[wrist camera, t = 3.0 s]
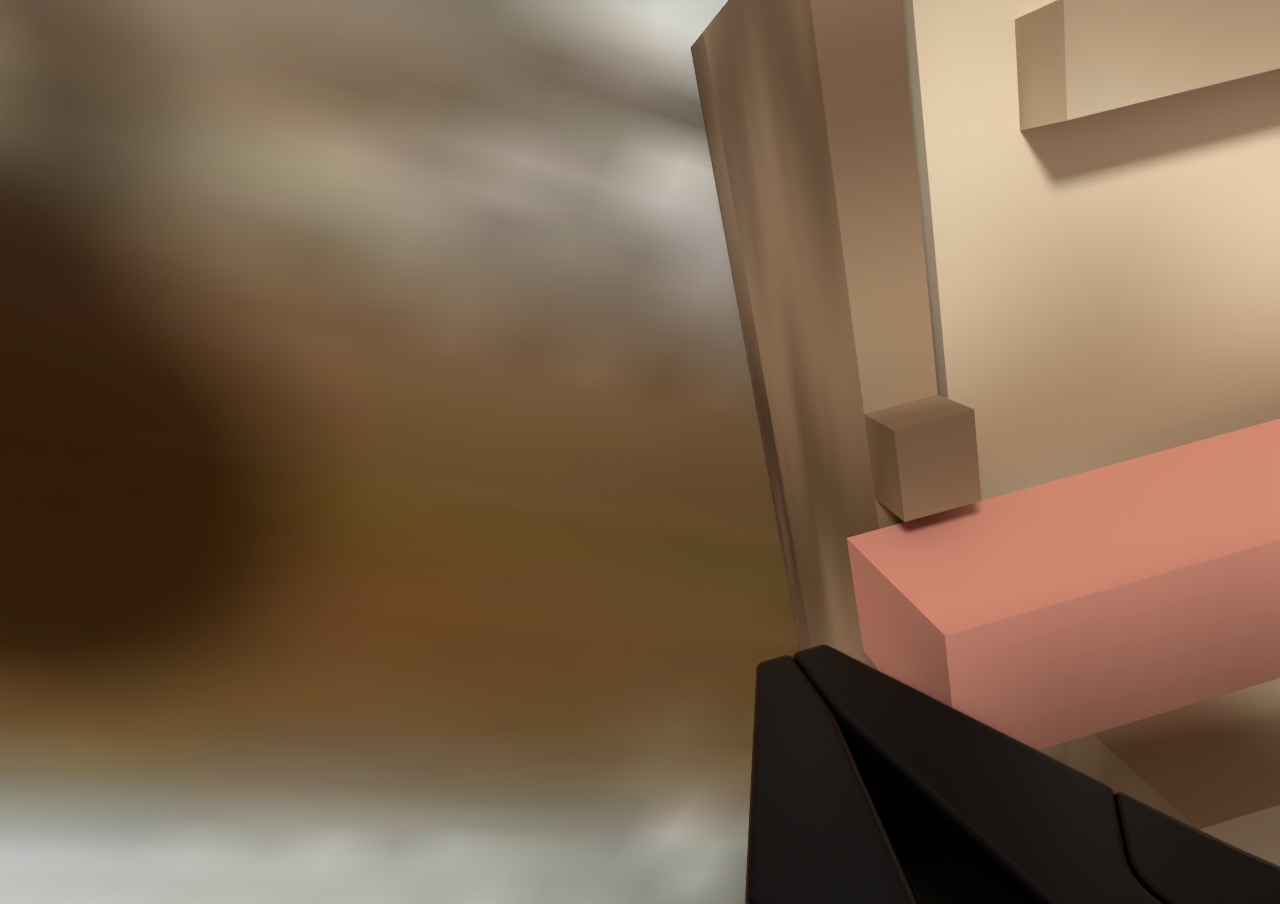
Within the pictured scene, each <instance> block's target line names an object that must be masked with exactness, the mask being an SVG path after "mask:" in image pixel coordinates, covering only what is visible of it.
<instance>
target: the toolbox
mask: <svg viewBox="0 0 1280 904" xmlns="http://www.w3.org/2000/svg"><path fill="white" fill-rule="evenodd" d="M691 52H692V57H693V63H694V68H695V74H696V79H697V85H698V90H699V96H700V101H701V107H702V112H703V117H704V123H705V128H706V134H707V139H708V145H709V150H710V156H711V161H712V167H713V172H714V178H715V183H716V189H717V194H718V200H719V205H720V211H721V216H722V222H723V227H724V233H725V238H726V244H727V249H728V255H729V260H730V266H731V271H732V277H733V282H734V288H735V293H736V298H737V304H738V309H739V315H740V320H741V326H742V331H743V337H744V342H745V348H746V353H747V359H748V364H749V370H750V375H751V381H752V386H753V392H754V397H755V403H756V408H757V414H758V419H759V425H760V430H761V436H762V441H763V447H764V452H765V458H766V463H767V469H768V474H769V479H770V485H771V490H772V496H773V501H774V507H775V512H776V518H777V523H778V529H779V534H780V540H781V545H782V551H783V556H784V562H785V567H786V573H787V578H788V584H789V589H790V595H791V600H792V606H793V611H794V617H795V622H796V628H797V633H798V639H799V644H800V650H801V651H802V650H805V649H808V648H812V647H815V646H819V645H828V646H831V647H833V648H835V649H837V650H839V651H841V652H843V653H845V654H847V655H849V656H851V657H853V658H855V659H857V660H859V661H861V662H863V663H865V664H867V665H869V666H871V667H873V668H875V669H877V667H876V666H875V665H874V663H873V662H872V661H871V660H870V658H869V657H868V656H867V654H866V653H865V652H864V650H863V645H862V638H861V631H860V625H859V618H858V611H857V604H856V598H855V591H854V584H853V577H852V571H851V564H850V557H849V550H848V544H847V538H849V537H852V536H856V535H859V534H863V533H867V532H870V531H874V530H878V529H881V528H885V527H888V526H892V525H896V524H899V523H903V522H907V521H910V520H914V519H917V518H921V517H925V516H928V515H932V514H936V513H939V512H943V511H946V510H950V509H954V508H957V507H961V506H964V505H968V504H972V503H975V502H979V501H981V491H980V478H979V465H978V452H977V439H976V426H975V413H974V409H972V408H970V407H967V406H965V405H962V404H960V403H957V402H955V401H952V400H950V399H948V398H945V397H943V396H940V395H938V391H937V380H936V370H935V359H934V349H933V338H932V327H931V317H930V306H929V296H928V285H927V274H926V264H925V253H924V242H923V232H922V221H921V211H920V200H919V189H918V179H917V168H916V158H915V147H914V136H913V126H912V115H911V105H910V94H909V83H908V73H907V62H906V51H905V41H904V30H903V20H902V9H901V0H728V2H727V3H726V4H725V5H724V7H723V8H722V9H721V10H720V12H719V13H718V14H717V15H716V17H715V18H714V19H713V20H712V22H711V23H710V24H709V25H708V27H707V28H706V29H705V30H704V32H703V33H702V34H701V35H700V37H699V38H698V39H697V40H696V42H695V43H694V44H693V45H692V47H691ZM877 670H878V669H877Z"/></svg>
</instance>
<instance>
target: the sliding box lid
mask: <svg viewBox="0 0 1280 904" xmlns="http://www.w3.org/2000/svg"><path fill="white" fill-rule="evenodd" d="M901 9H902V20H903V30H904V41H905V51H906V62H907V73H908V83H909V94H910V105H911V115H912V126H913V136H914V147H915V158H916V168H917V179H918V189H919V200H920V211H921V221H922V232H923V242H924V253H925V264H926V274H927V285H928V296H929V306H930V317H931V327H932V338H933V349H934V359H935V370H936V380H937V391H938V395H940V396H943V397H945V398H948V399H950V400H952V401H955V402H957V403H960V404H962V405H965V406H967V407H970V408H972V409H974V413H975V426H976V439H977V452H978V465H979V478H980V491H981V501H983V500H986V499H990V498H994V497H997V496H1001V495H1004V494H1008V493H1012V492H1015V491H1019V490H1023V489H1026V488H1030V487H1033V486H1037V485H1041V484H1044V483H1048V482H1052V481H1055V480H1059V479H1062V478H1066V477H1070V476H1073V475H1077V474H1081V473H1084V472H1088V471H1091V470H1095V469H1099V468H1102V467H1106V466H1110V465H1113V464H1117V463H1120V462H1124V461H1128V460H1131V459H1135V458H1139V457H1142V456H1146V455H1149V454H1153V453H1157V452H1160V451H1164V450H1168V449H1171V448H1175V447H1178V446H1182V445H1186V444H1189V443H1193V442H1197V441H1200V440H1204V439H1207V438H1211V437H1215V436H1218V435H1222V434H1226V433H1229V432H1233V431H1236V430H1240V429H1244V428H1247V427H1251V426H1255V425H1258V424H1262V423H1265V422H1269V421H1273V420H1276V419H1280V0H901ZM964 506H965V505H964ZM1039 751H1041V752H1043V753H1045V754H1047V755H1049V756H1051V757H1053V758H1055V759H1057V760H1059V761H1061V762H1063V763H1065V764H1067V765H1069V766H1071V767H1073V768H1075V769H1077V770H1079V771H1081V772H1083V773H1085V774H1087V775H1089V776H1091V777H1093V778H1095V779H1097V780H1099V781H1101V782H1103V783H1105V784H1107V785H1109V786H1110V787H1111V788H1112V789H1113V791H1114V795H1115V794H1116V793H1117V792H1123V793H1125V794H1127V795H1129V796H1131V797H1133V798H1135V799H1137V800H1139V801H1141V802H1144V803H1146V804H1148V805H1150V806H1152V807H1154V808H1156V809H1158V810H1160V811H1162V812H1164V813H1166V814H1168V815H1170V816H1172V817H1174V818H1176V819H1178V820H1180V821H1182V822H1184V823H1187V824H1189V825H1191V826H1193V827H1195V828H1197V829H1199V830H1201V831H1203V832H1205V833H1208V834H1210V835H1212V836H1214V837H1216V838H1218V839H1220V840H1222V841H1224V842H1227V843H1229V844H1231V845H1233V846H1235V847H1237V848H1239V849H1242V850H1244V851H1246V852H1248V853H1251V854H1253V855H1255V856H1258V857H1260V858H1262V859H1265V860H1267V861H1269V862H1271V863H1274V864H1276V865H1278V866H1280V678H1278V679H1275V680H1272V681H1268V682H1265V683H1262V684H1258V685H1255V686H1252V687H1248V688H1245V689H1242V690H1238V691H1235V692H1232V693H1228V694H1225V695H1222V696H1218V697H1215V698H1211V699H1208V700H1205V701H1201V702H1198V703H1195V704H1191V705H1188V706H1185V707H1181V708H1178V709H1175V710H1171V711H1168V712H1165V713H1161V714H1158V715H1155V716H1151V717H1148V718H1145V719H1141V720H1138V721H1134V722H1131V723H1128V724H1124V725H1121V726H1118V727H1114V728H1111V729H1108V730H1104V731H1101V732H1098V733H1094V734H1091V735H1088V736H1084V737H1081V738H1078V739H1074V740H1071V741H1068V742H1064V743H1061V744H1058V745H1054V746H1051V747H1047V748H1044V749H1041V750H1039Z"/></svg>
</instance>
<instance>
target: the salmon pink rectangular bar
mask: <svg viewBox="0 0 1280 904" xmlns="http://www.w3.org/2000/svg"><path fill="white" fill-rule="evenodd" d="M847 544H848V550H849V557H850V564H851V571H852V577H853V584H854V591H855V598H856V604H857V611H858V618H859V625H860V631H861V638H862V645H863V650H864V652H865V653H866V654H867V656H868V657H869V658H870V660H871V661H872V662H873V663H874V665H875V666H876V667H877V669H878V670H879V671H881V672H883V673H885V674H887V675H889V676H891V677H893V678H895V679H897V680H899V681H901V682H903V683H905V684H907V685H909V686H911V687H913V688H915V689H917V690H919V691H921V692H923V693H925V694H927V695H929V696H931V697H933V698H935V699H937V700H939V701H941V702H943V703H945V704H947V705H949V706H951V707H953V708H955V709H957V710H959V711H961V712H963V713H965V714H967V715H969V716H971V717H973V718H975V719H977V720H979V721H981V722H983V723H985V724H987V725H989V726H991V727H993V728H995V729H997V730H999V731H1001V732H1003V733H1005V734H1007V735H1009V736H1011V737H1013V738H1015V739H1017V740H1019V741H1021V742H1023V743H1025V744H1027V745H1029V746H1031V747H1033V748H1035V749H1037V750H1041V749H1044V748H1047V747H1051V746H1054V745H1058V744H1061V743H1064V742H1068V741H1071V740H1074V739H1078V738H1081V737H1084V736H1088V735H1091V734H1094V733H1098V732H1101V731H1104V730H1108V729H1111V728H1114V727H1118V726H1121V725H1124V724H1128V723H1131V722H1134V721H1138V720H1141V719H1145V718H1148V717H1151V716H1155V715H1158V714H1161V713H1165V712H1168V711H1171V710H1175V709H1178V708H1181V707H1185V706H1188V705H1191V704H1195V703H1198V702H1201V701H1205V700H1208V699H1211V698H1215V697H1218V696H1222V695H1225V694H1228V693H1232V692H1235V691H1238V690H1242V689H1245V688H1248V687H1252V686H1255V685H1258V684H1262V683H1265V682H1268V681H1272V680H1275V679H1278V678H1280V419H1276V420H1273V421H1269V422H1265V423H1262V424H1258V425H1255V426H1251V427H1247V428H1244V429H1240V430H1236V431H1233V432H1229V433H1226V434H1222V435H1218V436H1215V437H1211V438H1207V439H1204V440H1200V441H1197V442H1193V443H1189V444H1186V445H1182V446H1178V447H1175V448H1171V449H1168V450H1164V451H1160V452H1157V453H1153V454H1149V455H1146V456H1142V457H1139V458H1135V459H1131V460H1128V461H1124V462H1120V463H1117V464H1113V465H1110V466H1106V467H1102V468H1099V469H1095V470H1091V471H1088V472H1084V473H1081V474H1077V475H1073V476H1070V477H1066V478H1062V479H1059V480H1055V481H1052V482H1048V483H1044V484H1041V485H1037V486H1033V487H1030V488H1026V489H1023V490H1019V491H1015V492H1012V493H1008V494H1004V495H1001V496H997V497H994V498H990V499H986V500H983V501H979V502H975V503H972V504H968V505H965V506H961V507H957V508H954V509H950V510H946V511H943V512H939V513H936V514H932V515H928V516H925V517H921V518H917V519H914V520H910V521H907V522H903V523H899V524H896V525H892V526H888V527H885V528H881V529H878V530H874V531H870V532H867V533H863V534H859V535H856V536H852V537H849V538H847Z"/></svg>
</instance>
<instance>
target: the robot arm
mask: <svg viewBox="0 0 1280 904" xmlns="http://www.w3.org/2000/svg"><path fill="white" fill-rule="evenodd" d="M745 904H1280V866H1278V865H1276V864H1274V863H1271V862H1269V861H1267V860H1265V859H1262V858H1260V857H1258V856H1255V855H1253V854H1251V853H1248V852H1246V851H1244V850H1242V849H1239V848H1237V847H1235V846H1233V845H1231V844H1229V843H1227V842H1224V841H1222V840H1220V839H1218V838H1216V837H1214V836H1212V835H1210V834H1208V833H1205V832H1203V831H1201V830H1199V829H1197V828H1195V827H1193V826H1191V825H1189V824H1187V823H1184V822H1182V821H1180V820H1178V819H1176V818H1174V817H1172V816H1170V815H1168V814H1166V813H1164V812H1162V811H1160V810H1158V809H1156V808H1154V807H1152V806H1150V805H1148V804H1146V803H1144V802H1141V801H1139V800H1137V799H1135V798H1133V797H1131V796H1129V795H1127V794H1125V793H1123V792H1117V793H1116V794H1115V795H1114V791H1113V789H1112V788H1111V787H1110V786H1109V785H1107V784H1105V783H1103V782H1101V781H1099V780H1097V779H1095V778H1093V777H1091V776H1089V775H1087V774H1085V773H1083V772H1081V771H1079V770H1077V769H1075V768H1073V767H1071V766H1069V765H1067V764H1065V763H1063V762H1061V761H1059V760H1057V759H1055V758H1053V757H1051V756H1049V755H1047V754H1045V753H1043V752H1041V751H1039V750H1037V749H1035V748H1033V747H1031V746H1029V745H1027V744H1025V743H1023V742H1021V741H1019V740H1017V739H1015V738H1013V737H1011V736H1009V735H1007V734H1005V733H1003V732H1001V731H999V730H997V729H995V728H993V727H991V726H989V725H987V724H985V723H983V722H981V721H979V720H977V719H975V718H973V717H971V716H969V715H967V714H965V713H963V712H961V711H959V710H957V709H955V708H953V707H951V706H949V705H947V704H945V703H943V702H941V701H939V700H937V699H935V698H933V697H931V696H929V695H927V694H925V693H923V692H921V691H919V690H917V689H915V688H913V687H911V686H909V685H907V684H905V683H903V682H901V681H899V680H897V679H895V678H893V677H891V676H889V675H887V674H885V673H883V672H881V671H879V670H877V669H875V668H873V667H871V666H869V665H867V664H865V663H863V662H861V661H859V660H857V659H855V658H853V657H851V656H849V655H847V654H845V653H843V652H841V651H839V650H837V649H835V648H833V647H831V646H828V645H819V646H815V647H812V648H808V649H805V650H802V651H798V652H796V653H795V654H794V655H793V658H792V657H791V656H787V655H785V656H781V657H778V658H774V659H771V660H767V661H764V662H761V663H759V664H758V666H757V669H756V688H755V709H754V730H753V750H752V771H751V792H750V812H749V833H748V854H747V874H746V895H745Z"/></svg>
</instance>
